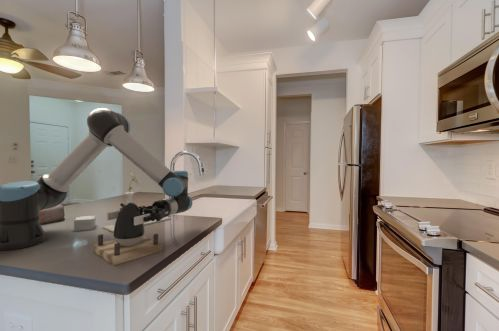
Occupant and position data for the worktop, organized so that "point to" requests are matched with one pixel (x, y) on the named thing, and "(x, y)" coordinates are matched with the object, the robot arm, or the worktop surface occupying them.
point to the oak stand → (126, 249)
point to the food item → (52, 214)
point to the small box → (84, 223)
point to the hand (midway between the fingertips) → (120, 218)
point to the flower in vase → (129, 195)
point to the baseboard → (111, 227)
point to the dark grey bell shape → (128, 226)
